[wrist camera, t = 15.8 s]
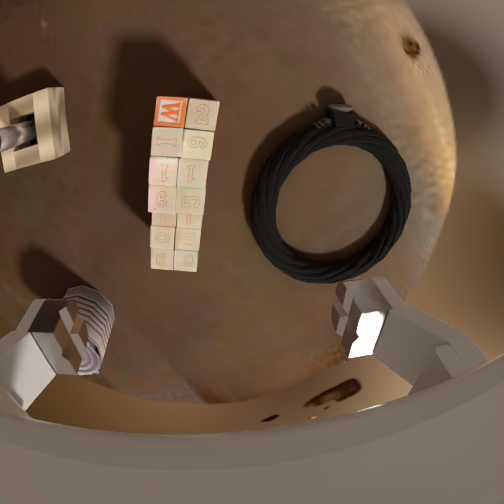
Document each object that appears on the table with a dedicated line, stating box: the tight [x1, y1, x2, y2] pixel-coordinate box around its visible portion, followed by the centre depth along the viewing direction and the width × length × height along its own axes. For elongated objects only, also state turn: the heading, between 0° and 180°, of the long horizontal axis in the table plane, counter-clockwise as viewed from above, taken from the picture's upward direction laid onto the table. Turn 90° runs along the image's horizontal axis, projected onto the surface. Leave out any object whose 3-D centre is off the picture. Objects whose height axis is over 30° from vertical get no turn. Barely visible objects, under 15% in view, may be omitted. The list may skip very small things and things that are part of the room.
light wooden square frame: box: [0, 87, 70, 173], centre depth 31 cm, size 10×10×5 cm
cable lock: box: [251, 104, 411, 284], centre depth 44 cm, size 28×4×30 cm
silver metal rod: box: [0, 119, 37, 153], centre depth 27 cm, size 3×3×14 cm
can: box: [63, 285, 115, 375], centre depth 45 cm, size 11×11×12 cm
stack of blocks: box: [148, 96, 220, 272], centre depth 35 cm, size 21×6×12 cm, turn 170°
